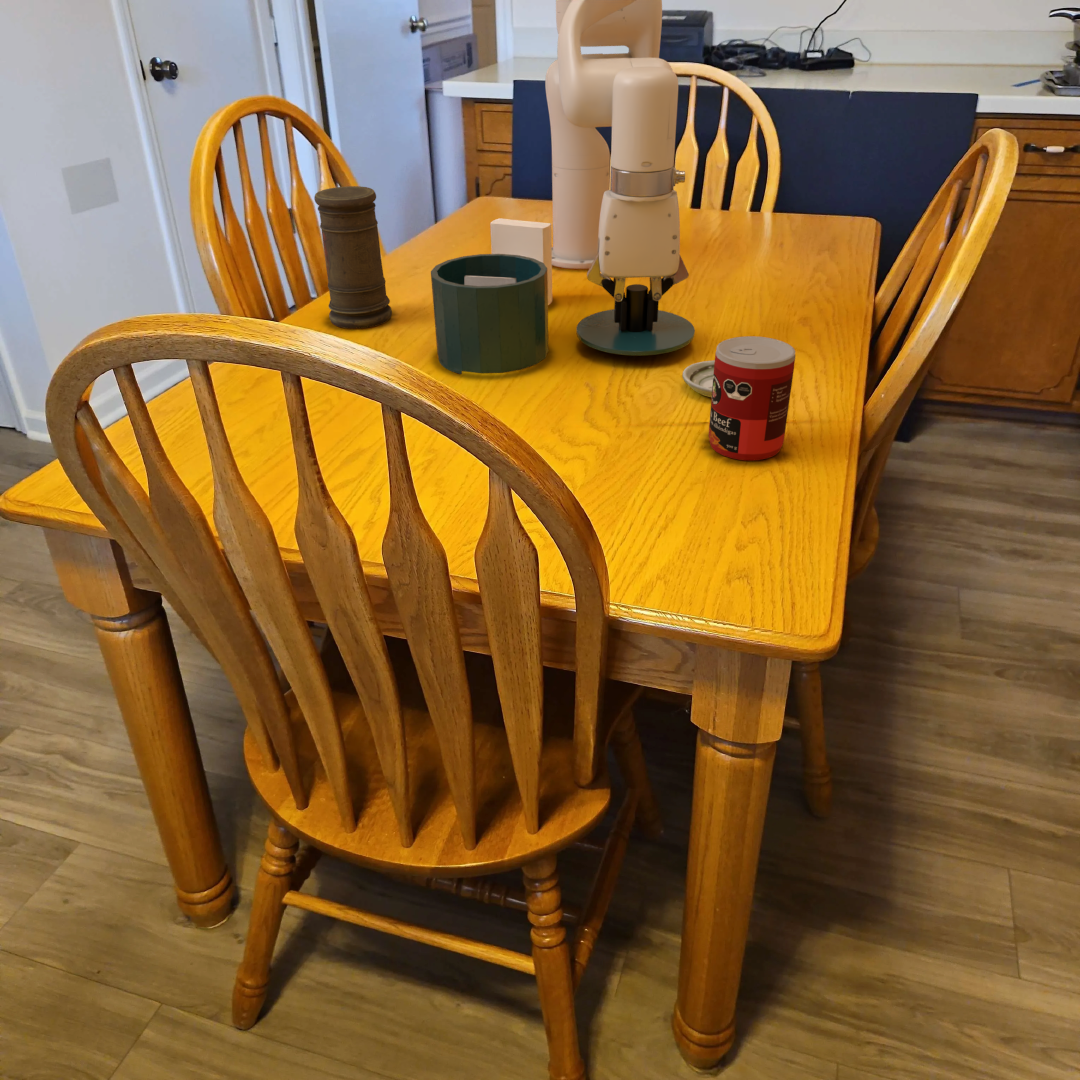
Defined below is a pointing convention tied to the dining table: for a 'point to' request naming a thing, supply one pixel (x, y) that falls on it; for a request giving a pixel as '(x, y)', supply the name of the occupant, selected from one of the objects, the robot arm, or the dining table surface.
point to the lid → (635, 329)
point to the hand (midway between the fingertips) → (635, 326)
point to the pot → (490, 314)
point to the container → (353, 257)
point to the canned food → (750, 397)
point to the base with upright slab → (524, 242)
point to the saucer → (700, 377)
